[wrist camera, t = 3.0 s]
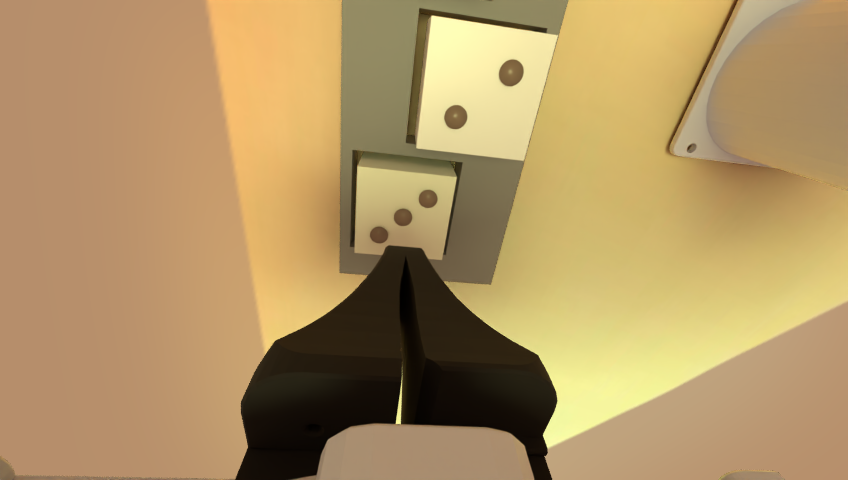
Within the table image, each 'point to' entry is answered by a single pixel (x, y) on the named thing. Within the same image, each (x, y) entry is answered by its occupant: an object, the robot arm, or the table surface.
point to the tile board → (387, 133)
